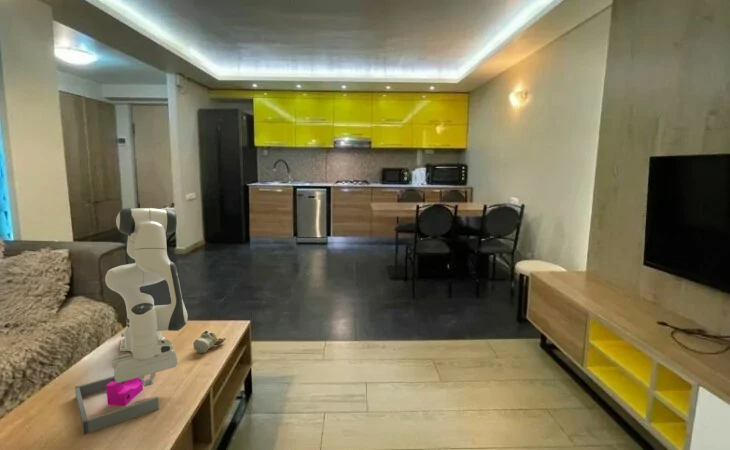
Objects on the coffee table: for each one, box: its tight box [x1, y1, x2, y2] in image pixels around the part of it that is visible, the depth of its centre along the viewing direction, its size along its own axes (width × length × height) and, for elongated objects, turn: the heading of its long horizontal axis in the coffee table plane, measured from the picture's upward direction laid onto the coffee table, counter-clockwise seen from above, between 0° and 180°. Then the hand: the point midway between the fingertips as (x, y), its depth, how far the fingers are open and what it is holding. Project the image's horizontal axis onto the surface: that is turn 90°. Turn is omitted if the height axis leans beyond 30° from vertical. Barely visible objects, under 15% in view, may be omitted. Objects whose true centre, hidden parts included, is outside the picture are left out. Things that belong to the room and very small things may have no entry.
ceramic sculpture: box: [193, 330, 227, 354], centre depth 186 cm, size 11×9×15 cm
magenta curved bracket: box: [105, 377, 144, 407], centre depth 148 cm, size 15×6×8 cm, turn 177°
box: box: [74, 375, 160, 435], centre depth 143 cm, size 26×21×4 cm
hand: (148, 385), depth 148 cm, fingers closed
